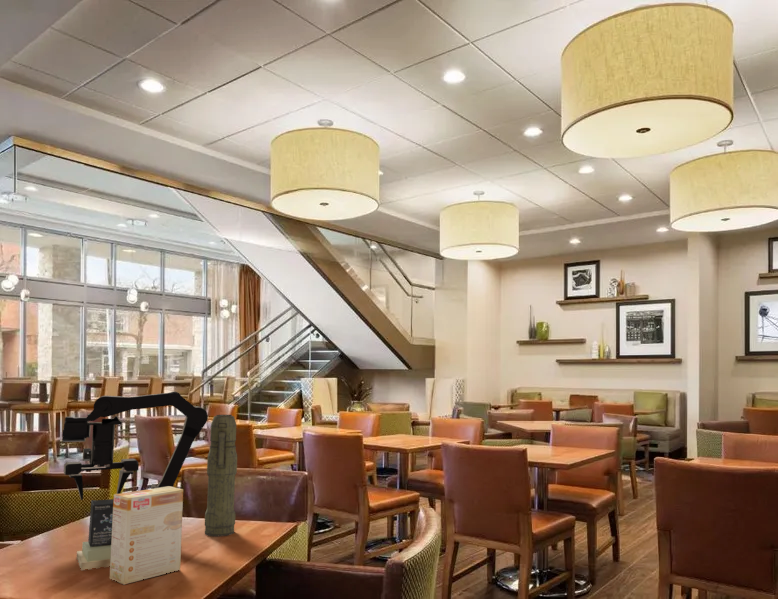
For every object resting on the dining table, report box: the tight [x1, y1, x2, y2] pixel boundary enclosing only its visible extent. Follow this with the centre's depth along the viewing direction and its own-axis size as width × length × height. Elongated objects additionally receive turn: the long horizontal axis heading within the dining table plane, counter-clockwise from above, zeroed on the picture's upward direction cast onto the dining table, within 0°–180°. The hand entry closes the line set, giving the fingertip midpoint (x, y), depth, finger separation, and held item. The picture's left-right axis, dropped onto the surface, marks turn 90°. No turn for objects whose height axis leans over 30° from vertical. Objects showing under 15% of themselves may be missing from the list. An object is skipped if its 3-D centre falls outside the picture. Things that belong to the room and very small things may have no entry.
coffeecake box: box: [109, 486, 184, 586], centre depth 160 cm, size 15×7×20 cm, turn 141°
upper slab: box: [81, 541, 111, 562], centre depth 170 cm, size 10×10×2 cm
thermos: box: [204, 414, 238, 537], centre depth 201 cm, size 9×12×35 cm
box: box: [87, 498, 114, 547], centre depth 171 cm, size 8×6×11 cm
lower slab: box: [76, 550, 111, 571], centre depth 170 cm, size 12×12×2 cm
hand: (99, 498), depth 184 cm, fingers open, 9 cm apart
